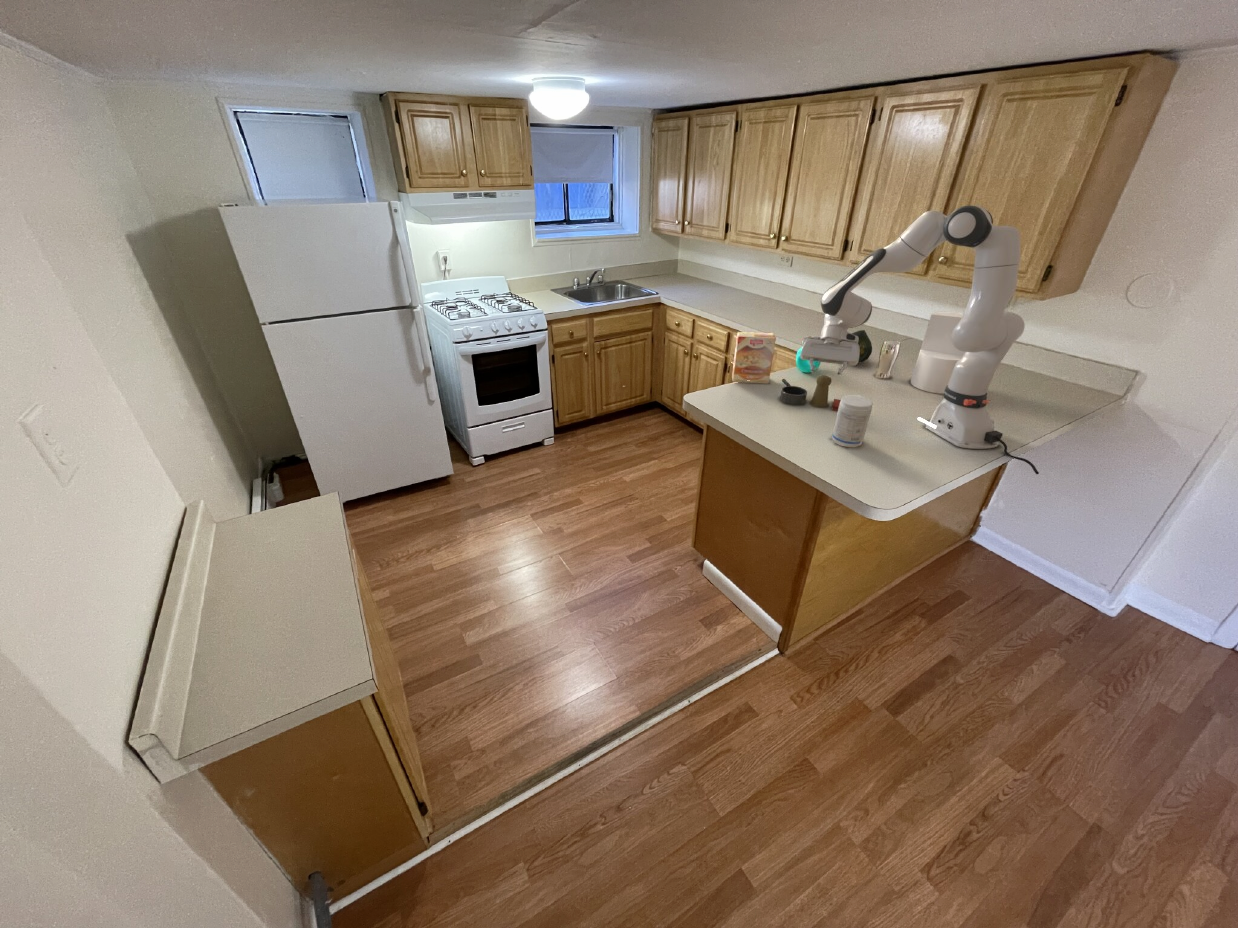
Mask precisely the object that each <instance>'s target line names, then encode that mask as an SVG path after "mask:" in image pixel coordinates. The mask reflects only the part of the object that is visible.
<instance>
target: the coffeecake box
mask: <svg viewBox="0 0 1238 928" xmlns="http://www.w3.org/2000/svg"><path fill="white" fill-rule="evenodd" d="M776 341H777V337H776V335H775V333H774V332H755V331H753V332H752V331H747V332H746V331H737V333H736V341H735V346H734V347H735V348H734V349H735V350H734V356H733V364H732V372H731V378H732V379H731V380H732V382H733V383H743V382H742V381H745V382H744V383H749V384H750V383H752V384H769V383H770V378H771V371H772V366H773V359H774V354H775V353H774V352H775V347H776ZM747 380H750V381H747Z"/></svg>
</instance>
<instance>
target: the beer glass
mask: <svg viewBox="0 0 1238 928" xmlns="http://www.w3.org/2000/svg"><path fill="white" fill-rule="evenodd" d="M901 345H902V343H901V342H900V341H898V340H894V339H885V340H883V342H882V345H881V348H880V351H879V357H878V367H877V370H876V372H875V373H874V376H875V378H878V379H881V380H889V379H891V377H892V370H893V367H894V365H895V363H896V361H897V359H898V357H899V354H900V350H901Z"/></svg>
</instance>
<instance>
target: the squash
mask: <svg viewBox="0 0 1238 928" xmlns="http://www.w3.org/2000/svg"><path fill="white" fill-rule="evenodd" d="M851 334H853V335H856V336H858V337H859V341H858V345H859V347H860V354H859V361H858V364H859V363H864V362H866V361H868V360H869V358H870V356H871V355H872V352H873V343H872V341H871V340H870V337H869V336H868V333H867V332H866V330H865V329H861V330H856V331H853V332H852V333H851Z"/></svg>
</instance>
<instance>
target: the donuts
mask: <svg viewBox="0 0 1238 928" xmlns="http://www.w3.org/2000/svg"><path fill="white" fill-rule="evenodd" d="M802 347H803V346H801V347H800V348H799V349H798V350H797V352H796V355H795V359H796V360H795V364H796V368H797V369H798V370H799V371H801V372H803V373H807V374H808V373H813V372H814V371H810V370H811V366H810V364H809V360H802V359H801V357H800V355H801V350H802ZM813 365H816V366H815V371H816V370H818V369H819V367H820V365H821V362H818V361H813Z"/></svg>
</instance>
